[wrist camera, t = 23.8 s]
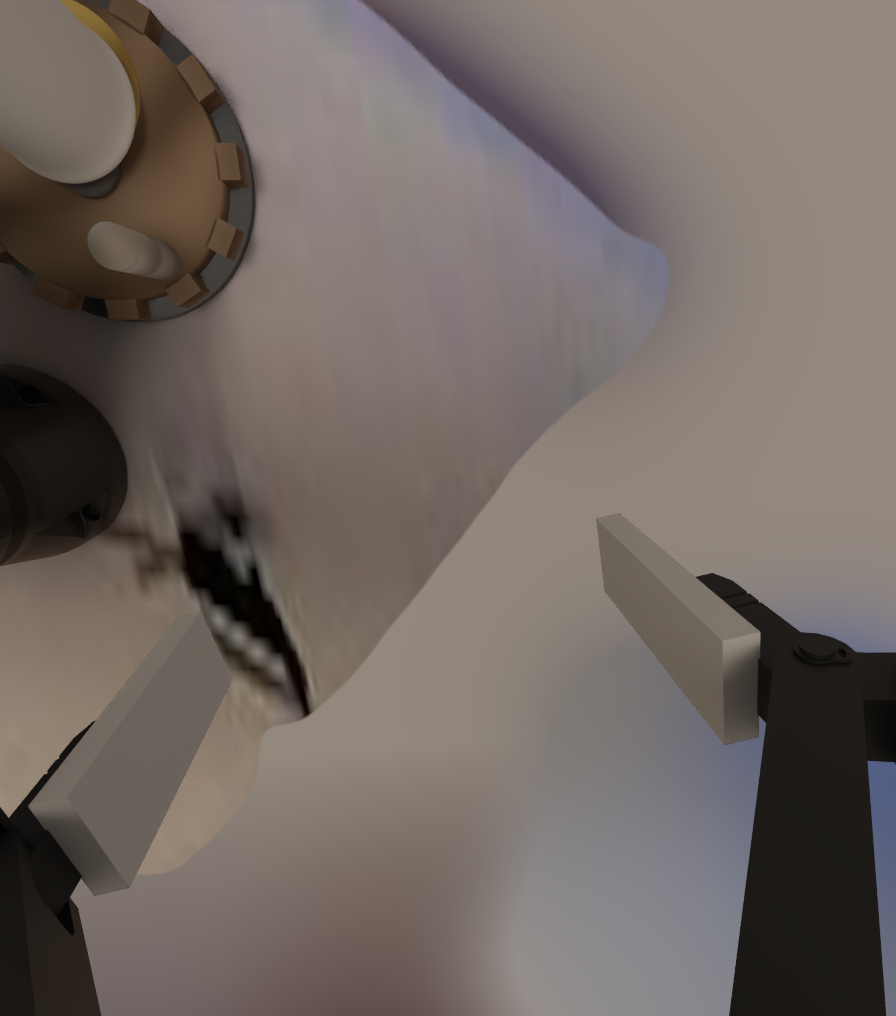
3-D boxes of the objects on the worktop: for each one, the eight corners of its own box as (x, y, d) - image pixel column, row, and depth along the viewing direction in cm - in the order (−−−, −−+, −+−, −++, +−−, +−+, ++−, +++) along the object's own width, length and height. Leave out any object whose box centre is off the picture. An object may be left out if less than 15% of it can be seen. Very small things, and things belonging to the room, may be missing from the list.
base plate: (48, 346, 36) (40, 347, 36) (-104, 35, 30) (-117, 27, 29) (290, 290, 36) (288, 289, 36) (192, -33, 30) (186, -42, 29)
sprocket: (-124, 106, 30) (-294, 34, 23) (106, -87, 28) (1, -234, 21) (101, 369, 36) (25, 378, 29) (303, 226, 34) (276, 198, 27)
